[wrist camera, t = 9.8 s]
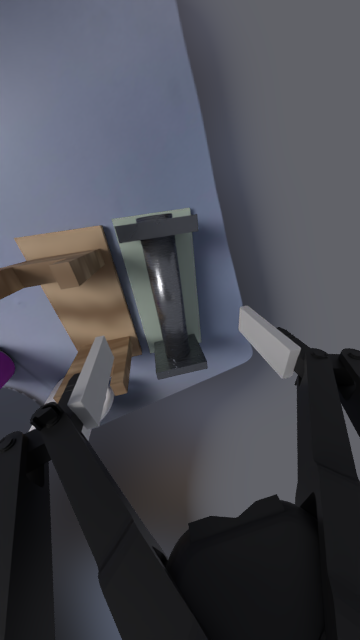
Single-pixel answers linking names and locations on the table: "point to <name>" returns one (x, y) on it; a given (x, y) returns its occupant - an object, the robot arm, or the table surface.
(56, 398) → the cradle
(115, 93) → the table surface
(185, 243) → the mat
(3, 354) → the beverage can
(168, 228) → the rod
